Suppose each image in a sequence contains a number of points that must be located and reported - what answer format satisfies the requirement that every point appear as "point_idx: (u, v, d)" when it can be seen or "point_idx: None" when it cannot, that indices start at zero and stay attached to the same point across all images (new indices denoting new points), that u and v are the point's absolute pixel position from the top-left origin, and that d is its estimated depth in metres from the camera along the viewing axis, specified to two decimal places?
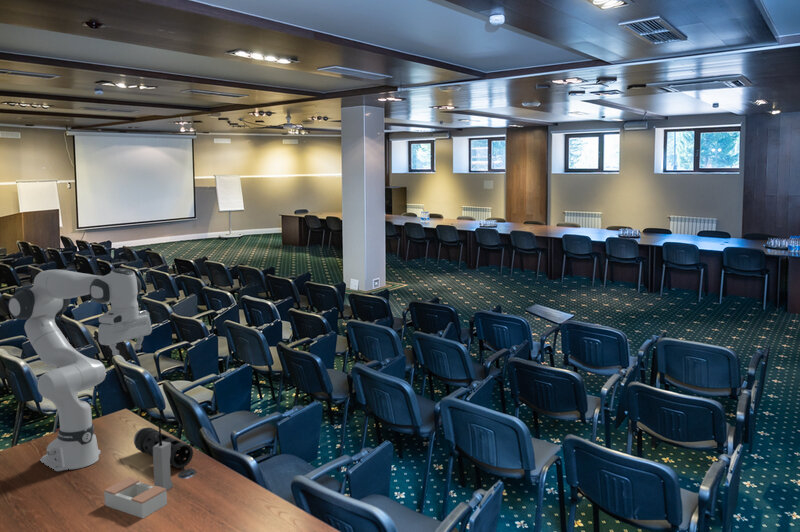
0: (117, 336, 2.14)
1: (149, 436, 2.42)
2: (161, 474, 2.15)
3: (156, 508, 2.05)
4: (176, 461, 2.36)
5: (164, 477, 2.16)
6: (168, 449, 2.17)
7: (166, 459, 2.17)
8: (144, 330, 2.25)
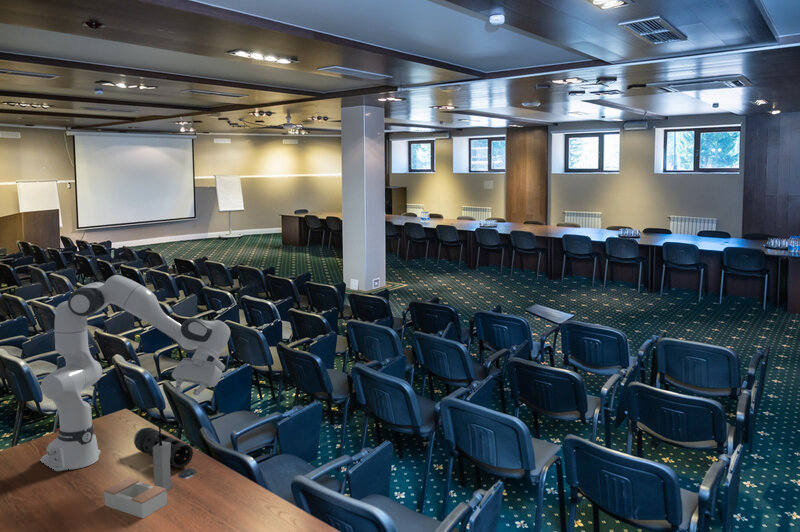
0: None
1: (149, 436, 2.42)
2: (161, 475, 2.15)
3: (156, 508, 2.05)
4: (176, 461, 2.36)
5: (164, 477, 2.16)
6: (168, 449, 2.17)
7: (166, 459, 2.17)
8: None
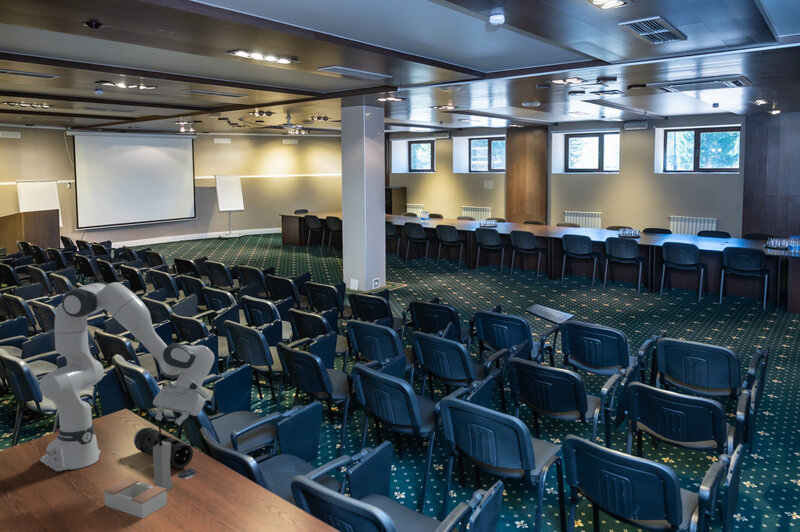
0: None
1: (149, 436, 2.42)
2: (161, 474, 2.15)
3: (156, 508, 2.05)
4: (176, 461, 2.36)
5: (164, 477, 2.16)
6: (168, 449, 2.17)
7: (166, 459, 2.17)
8: None
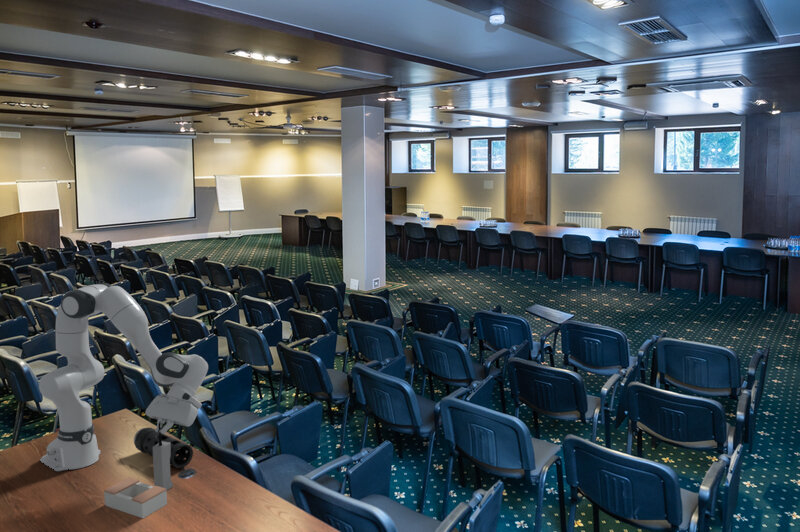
0: None
1: (149, 436, 2.42)
2: (161, 474, 2.15)
3: (156, 508, 2.05)
4: (176, 461, 2.36)
5: (164, 476, 2.16)
6: (168, 449, 2.17)
7: (166, 459, 2.17)
8: None
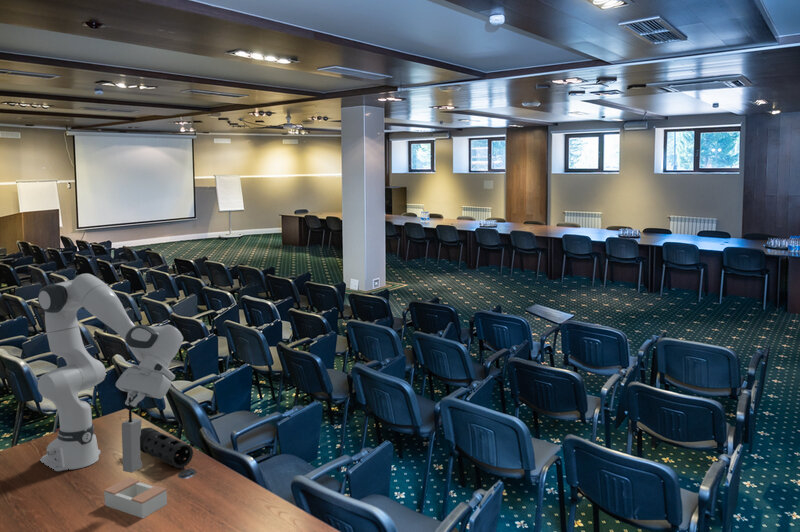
0: None
1: (149, 436, 2.42)
2: (130, 453, 2.03)
3: (156, 508, 2.05)
4: (176, 461, 2.36)
5: (133, 455, 2.03)
6: (138, 426, 2.05)
7: (136, 436, 2.05)
8: None
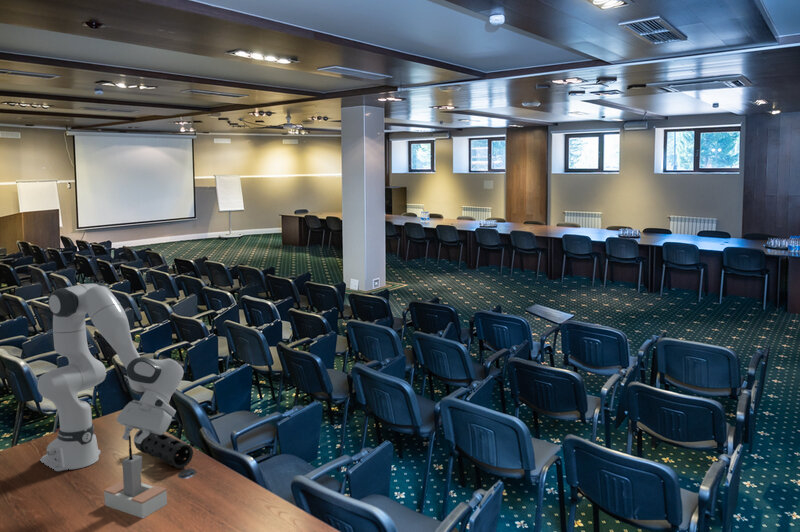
0: None
1: (149, 436, 2.42)
2: (131, 490, 2.04)
3: (156, 508, 2.05)
4: (176, 461, 2.36)
5: (134, 492, 2.05)
6: (139, 463, 2.06)
7: (137, 473, 2.06)
8: None
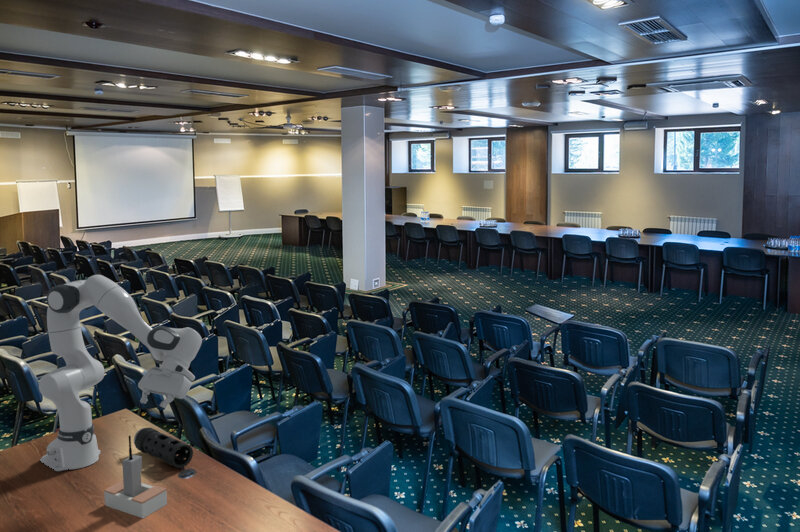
0: None
1: (149, 436, 2.42)
2: (131, 490, 2.04)
3: (156, 508, 2.05)
4: (176, 461, 2.36)
5: (134, 492, 2.05)
6: (139, 463, 2.06)
7: (137, 473, 2.06)
8: None
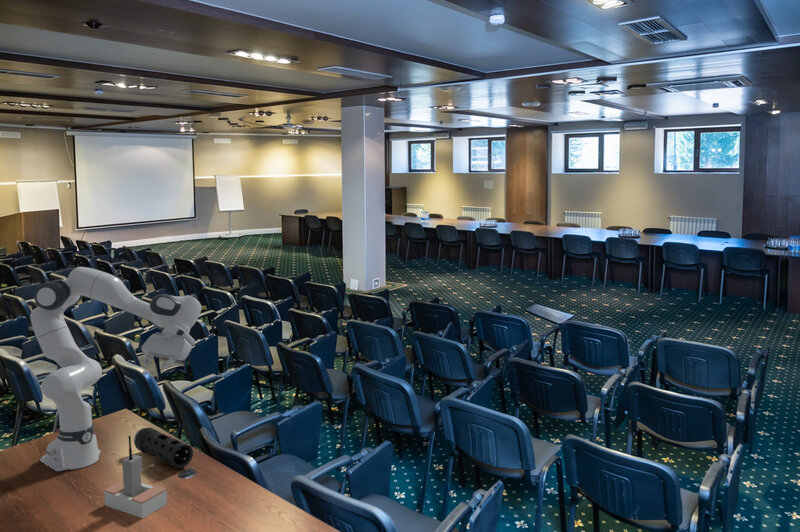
0: None
1: (149, 436, 2.42)
2: (131, 490, 2.04)
3: (156, 508, 2.05)
4: (176, 461, 2.36)
5: (134, 492, 2.05)
6: (139, 463, 2.06)
7: (137, 473, 2.06)
8: None
